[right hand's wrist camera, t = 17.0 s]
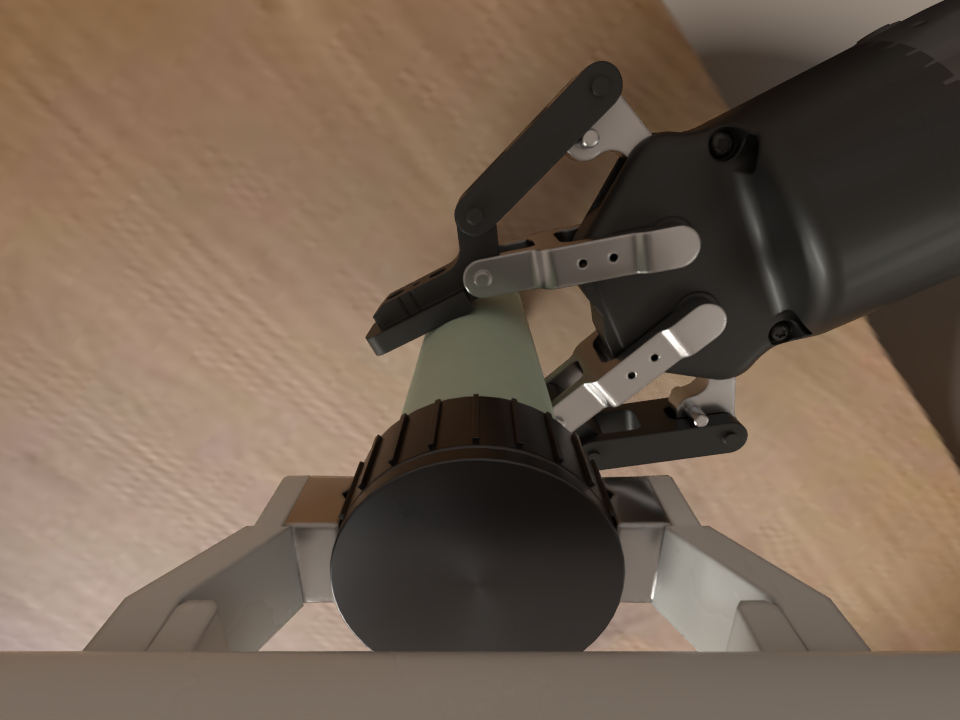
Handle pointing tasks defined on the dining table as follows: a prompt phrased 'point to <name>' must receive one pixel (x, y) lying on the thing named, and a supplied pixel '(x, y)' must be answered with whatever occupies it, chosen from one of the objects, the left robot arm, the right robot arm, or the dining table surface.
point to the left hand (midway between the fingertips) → (411, 394)
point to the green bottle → (481, 358)
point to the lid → (477, 535)
